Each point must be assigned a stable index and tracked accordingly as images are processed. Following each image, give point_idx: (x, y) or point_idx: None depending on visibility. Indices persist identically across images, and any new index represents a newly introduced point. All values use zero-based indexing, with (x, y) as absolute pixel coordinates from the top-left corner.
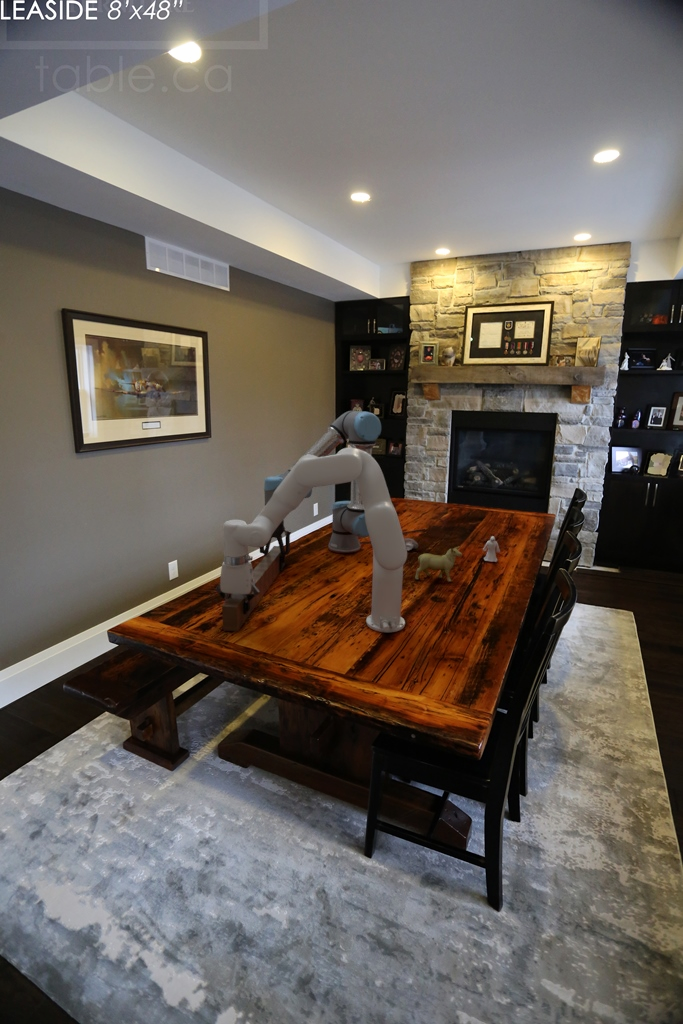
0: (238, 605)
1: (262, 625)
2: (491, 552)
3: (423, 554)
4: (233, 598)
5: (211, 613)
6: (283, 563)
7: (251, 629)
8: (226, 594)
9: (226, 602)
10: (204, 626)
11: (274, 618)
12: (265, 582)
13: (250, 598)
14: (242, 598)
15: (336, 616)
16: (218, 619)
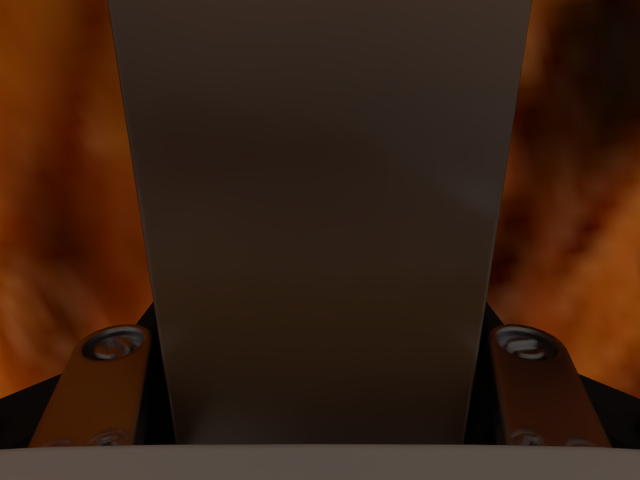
0: (118, 37)
1: (55, 191)
2: None
3: None
4: (372, 358)
5: (600, 335)
6: None
7: (118, 88)
8: (570, 429)
9: (476, 124)
10: (625, 68)
11: (20, 334)
12: None
13: (20, 405)
14: (184, 385)
15: None
16: (512, 239)
